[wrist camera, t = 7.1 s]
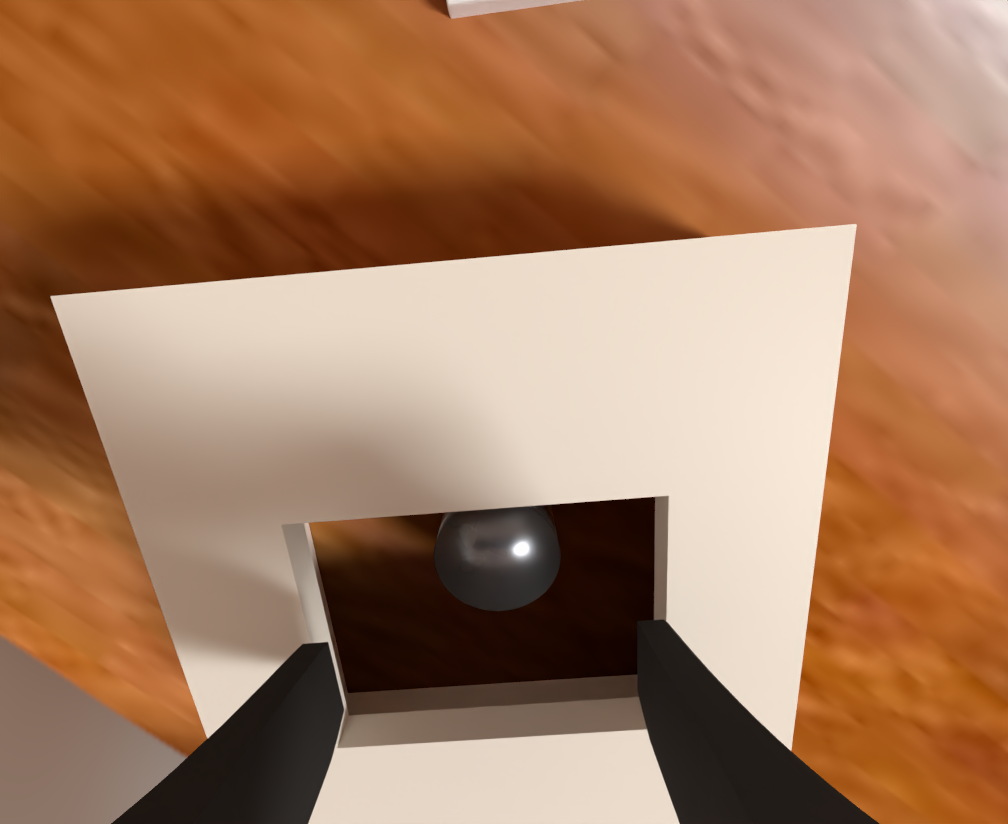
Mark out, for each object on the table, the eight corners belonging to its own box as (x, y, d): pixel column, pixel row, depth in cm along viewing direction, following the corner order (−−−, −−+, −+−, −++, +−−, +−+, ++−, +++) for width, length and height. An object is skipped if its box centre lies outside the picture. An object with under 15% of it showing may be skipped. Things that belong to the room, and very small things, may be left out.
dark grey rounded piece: (553, 554, 18) (562, 607, 15) (451, 560, 18) (441, 614, 15) (549, 458, 17) (558, 496, 14) (440, 466, 17) (426, 505, 14)
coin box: (698, 689, 20) (777, 858, 14) (329, 712, 20) (259, 886, 15) (719, 242, 15) (856, 224, 9) (223, 287, 15) (49, 296, 9)
